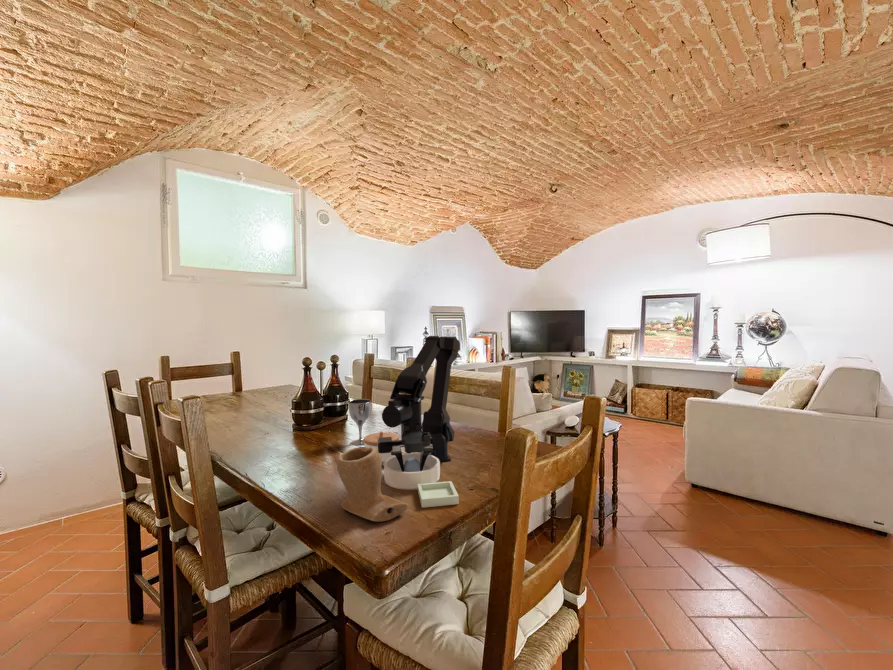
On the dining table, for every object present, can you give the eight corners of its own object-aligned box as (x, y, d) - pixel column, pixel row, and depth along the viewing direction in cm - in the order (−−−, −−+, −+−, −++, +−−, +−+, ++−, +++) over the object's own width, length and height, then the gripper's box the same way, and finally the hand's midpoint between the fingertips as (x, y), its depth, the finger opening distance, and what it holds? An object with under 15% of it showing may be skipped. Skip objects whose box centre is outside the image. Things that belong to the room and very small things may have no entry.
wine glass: (373, 444, 147) (372, 402, 146) (351, 447, 144) (349, 404, 143) (369, 437, 154) (368, 398, 153) (347, 440, 151) (346, 399, 150)
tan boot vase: (327, 512, 97) (326, 449, 96) (368, 495, 106) (367, 437, 105) (368, 535, 87) (367, 465, 86) (409, 513, 96) (408, 450, 95)
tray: (417, 491, 108) (417, 484, 108) (451, 488, 109) (451, 481, 109) (421, 507, 99) (421, 499, 99) (458, 504, 100) (458, 495, 100)
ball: (403, 472, 118) (403, 456, 118) (419, 470, 119) (419, 455, 119) (404, 478, 114) (404, 462, 113) (421, 477, 114) (421, 460, 114)
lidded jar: (404, 457, 133) (403, 428, 133) (390, 469, 123) (390, 438, 123) (373, 454, 136) (373, 426, 136) (358, 466, 126) (357, 435, 125)
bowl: (383, 470, 123) (383, 455, 122) (435, 466, 125) (434, 451, 125) (385, 492, 107) (385, 475, 107) (444, 487, 110) (443, 470, 110)
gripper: (377, 428, 106) (379, 488, 107) (449, 423, 109) (450, 481, 110) (377, 417, 117) (378, 471, 118) (442, 413, 120) (443, 466, 121)
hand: (412, 473), depth 116 cm, fingers closed on ball, 4 cm apart
